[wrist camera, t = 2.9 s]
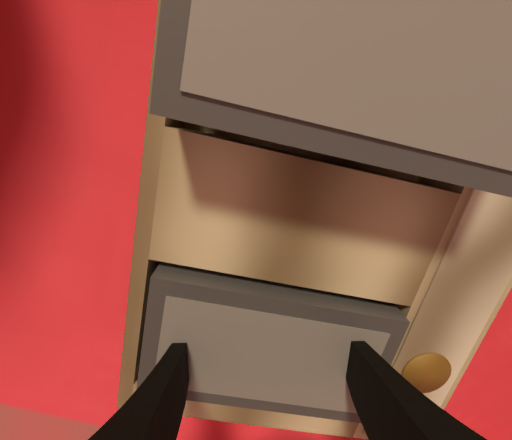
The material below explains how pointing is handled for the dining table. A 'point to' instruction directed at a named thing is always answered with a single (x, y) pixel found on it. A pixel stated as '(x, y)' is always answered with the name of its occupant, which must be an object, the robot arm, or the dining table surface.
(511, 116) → the key grey
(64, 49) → the dining table surface
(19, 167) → the dining table surface
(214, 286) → the brown block
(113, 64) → the dining table surface
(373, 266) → the switch panel
